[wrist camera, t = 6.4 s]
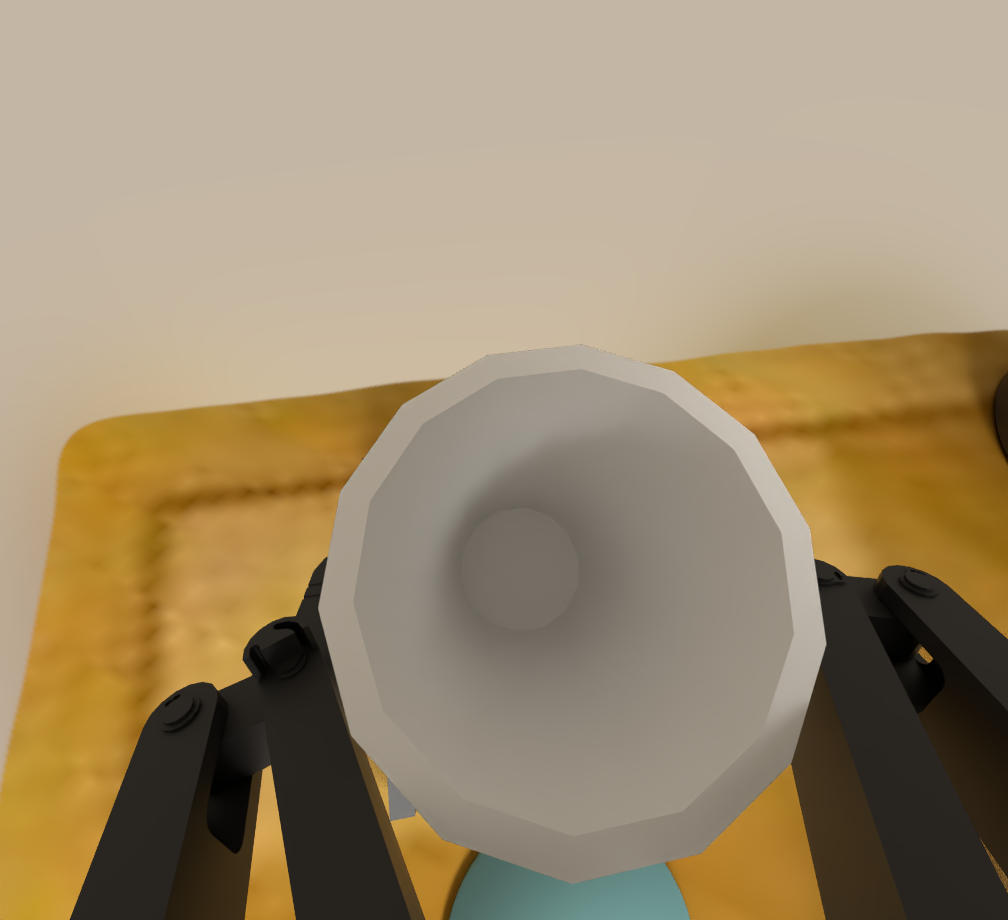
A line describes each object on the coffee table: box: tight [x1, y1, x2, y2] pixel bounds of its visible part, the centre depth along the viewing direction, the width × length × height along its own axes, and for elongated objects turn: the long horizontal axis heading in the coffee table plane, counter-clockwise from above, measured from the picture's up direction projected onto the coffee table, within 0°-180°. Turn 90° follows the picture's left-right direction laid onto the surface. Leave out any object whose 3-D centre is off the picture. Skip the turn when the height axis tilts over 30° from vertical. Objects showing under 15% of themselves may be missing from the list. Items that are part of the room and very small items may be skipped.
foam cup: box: [318, 345, 826, 884], centre depth 13 cm, size 10×9×13 cm
